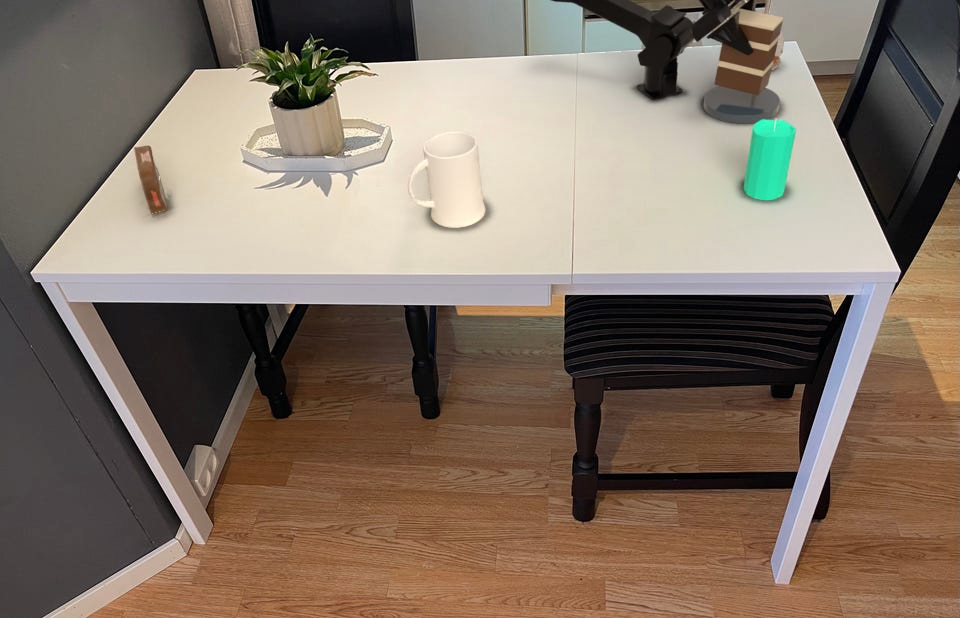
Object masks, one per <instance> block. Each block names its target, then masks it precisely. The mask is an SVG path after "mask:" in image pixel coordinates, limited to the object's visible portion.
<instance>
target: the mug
mask: <svg viewBox="0 0 960 618" xmlns="http://www.w3.org/2000/svg"><path fill="white" fill-rule="evenodd" d="M478 144H479V143H478V139H477V138H476V137H475V135H472V134H470V133H468V132H465V131H446V132H440V133H437V134H434V135H432V136H431V137H429V138H428V139H426V140H425V142H424V143H423V145H422V151H423V157H424V159H423V160H421V161H420V162H419V163H417V164H416V165H415V167H414V168H413V169H412V171H411V172H410V174H409V177H408V180H407V192H408V195H409V198H410V199H411V200H412V201H413V202H414V203H415V204H416V205H417V206H420V207H423V208H429V209H430V208H431V211H430V217H431V219H432V220H433V222H434V223H436V224H437V225H439V226H441V227H445V228H450V229H452V228H453V229H456V228H457V229H459V228H464V227H468V226H472V225H474V224H476V223H478V222H479V221H481V219H483V218H484V216H485V215H486V211H487V210H486V205H485V203H484V196H483V195H484V194H483V185H482V175H481V166H480V155H479V153H480V152H479V145H478ZM422 169H425V171H426V177H427V185H428V192H429V198H430V199H429V200H420V199H417V198H416V196H415V195H414V194H413V190H412V187H413V182H414V179H415V177H416V176H417V174H418V173H419V172H420V171H422Z"/></svg>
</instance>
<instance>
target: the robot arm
mask: <svg viewBox="0 0 960 618" xmlns="http://www.w3.org/2000/svg"><path fill="white" fill-rule="evenodd" d="M550 1H551V2H555V3H570V4H574V5H576V6H578V7H580V8H582V9H584V10H586V11H588V12H589V13H592V14H593V15H596V16H597V17H600V18H602V19H604V20H606V21H608V22H610V23H611V24H614V25H616V26H618V27H619V28H621V29H624V30H626V31H627V32H630V33H631V34H633V35H635V36H636V37H637V38H638V39H639V41H640V42H641V43H642V45H643V46H644V48H643V49H642V50H641V51H640V52H638V53H637V59H638V63H639V65H640V66H641V67H644V78H643V83H640V84H636V89H637V90H639V91H640V92H642V94H644V95H646V96H647V98H649V99H651V100H653V101H656V100H659V99H664V98H667V97H671V96H674V95H675V96H676V95H679V94H682V93H683V92H684V89H683V88H681V87H680V86H678V74H679V73H678V69H679V62H678V56H680V55H681V54H683V53H684V51H685V49H686V48H688V47H689V46H690V45H692V43H693V42H694V41H695V42H696V43H698V42H700V41H701V40H702V39H704V38H706V39H707V40H709V39H712V40H714V41H716V42H718V43H720V44H722V43H723V44H726V45H728V46H730V47H732V48H734V49H736V50H738V51H740V52H742V53H744V54H746V55H750V54H751V53H753V49H752V47H751V45H750V43H749V41H748V39H747V37H746V36H745V34H744V32H743V30H742V29H741V27H740V25H739V15H740V11H738V12H737V13H736V14H733V12H734V11H735V10H736V9H737V8H739V9H744V10H749V11H754V12H757V10H756V5H757V1H758V0H698V1H699V3H700V4H701V6H702V8H704V11H702V12H701V15H702V16H700V17H699V18H698V19H697V20H696V21H694V22H693V21H692V19H690V18H688V17H687V12H681V11H678V10H676V9H675V8H674V7H672V6H671V5H668V4H666V5H664V6H663V7H661V8H660V9H658V10H657V11H655V10H654V11H653V10H650V9H648V8H646V7H644V6H642V5H639V4H638V3H636V2H634V1H632V0H550Z"/></svg>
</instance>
